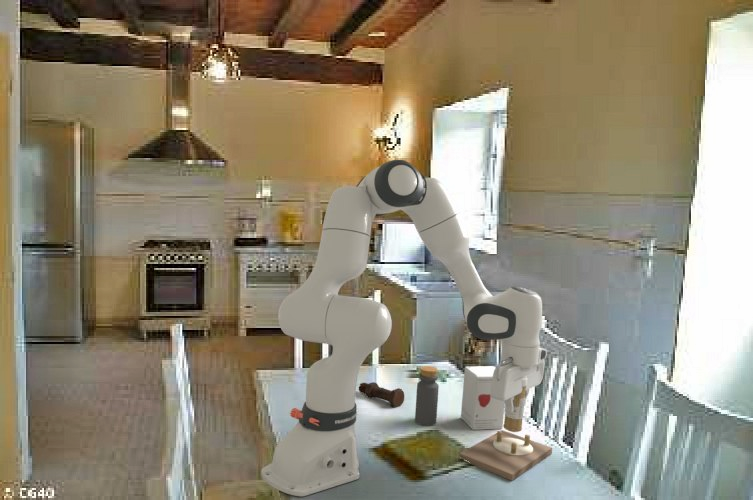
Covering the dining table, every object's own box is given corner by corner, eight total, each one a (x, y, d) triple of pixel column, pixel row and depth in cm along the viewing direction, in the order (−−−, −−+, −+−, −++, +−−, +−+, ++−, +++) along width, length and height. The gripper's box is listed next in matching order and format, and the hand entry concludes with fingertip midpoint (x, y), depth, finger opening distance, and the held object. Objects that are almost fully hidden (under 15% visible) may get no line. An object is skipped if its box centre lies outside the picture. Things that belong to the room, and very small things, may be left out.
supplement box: (472, 430, 156) (476, 376, 154) (460, 417, 165) (463, 365, 163) (503, 429, 158) (508, 375, 157) (489, 416, 167) (493, 365, 165)
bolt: (362, 398, 181) (400, 410, 171) (353, 393, 177) (391, 406, 168) (369, 380, 183) (407, 391, 173) (360, 375, 179) (397, 386, 169)
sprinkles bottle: (499, 427, 144) (504, 375, 142) (510, 423, 147) (515, 371, 146) (515, 434, 141) (521, 380, 139) (525, 430, 144) (531, 377, 142)
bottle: (435, 427, 157) (438, 372, 155) (413, 424, 158) (416, 370, 157) (437, 419, 163) (440, 366, 161) (416, 416, 164) (419, 364, 162)
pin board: (512, 480, 130) (513, 463, 129) (459, 459, 139) (460, 443, 139) (551, 453, 145) (553, 438, 144) (501, 435, 154) (502, 420, 153)
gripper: (510, 365, 132) (505, 424, 133) (550, 349, 147) (545, 402, 149) (486, 358, 136) (481, 416, 137) (527, 344, 151) (522, 395, 153)
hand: (515, 409), depth 143 cm, fingers closed on sprinkles bottle, 4 cm apart
